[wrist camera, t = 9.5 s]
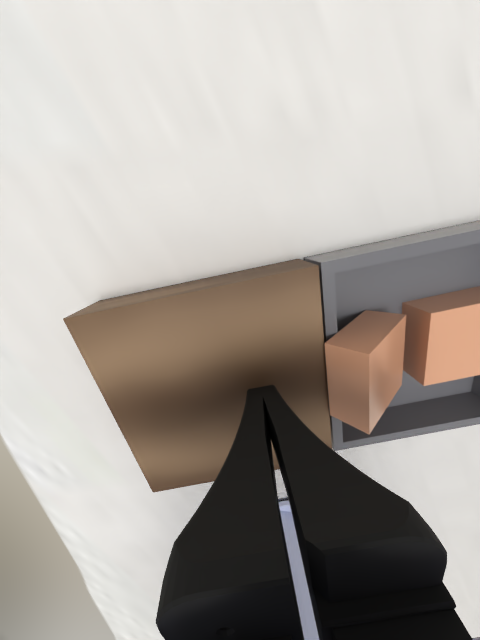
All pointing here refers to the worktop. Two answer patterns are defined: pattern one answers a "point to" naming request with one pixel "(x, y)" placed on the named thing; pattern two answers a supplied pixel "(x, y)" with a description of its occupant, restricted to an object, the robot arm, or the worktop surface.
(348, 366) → the tile
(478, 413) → the box
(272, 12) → the worktop surface
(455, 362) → the tile
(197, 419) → the board
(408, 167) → the worktop surface
